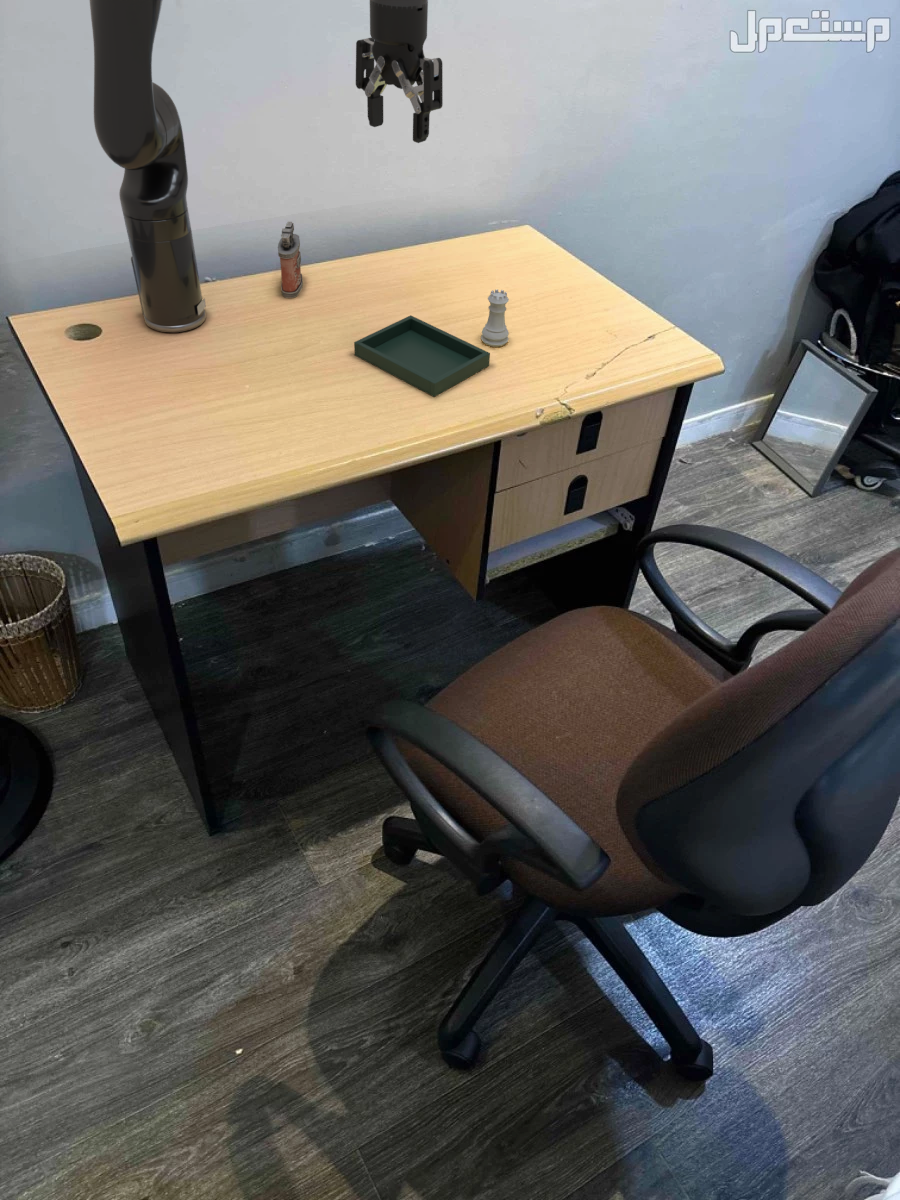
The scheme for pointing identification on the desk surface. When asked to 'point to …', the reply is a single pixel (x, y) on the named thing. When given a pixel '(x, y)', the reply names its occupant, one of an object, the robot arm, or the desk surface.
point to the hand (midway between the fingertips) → (397, 133)
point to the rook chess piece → (496, 320)
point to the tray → (422, 355)
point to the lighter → (290, 262)
